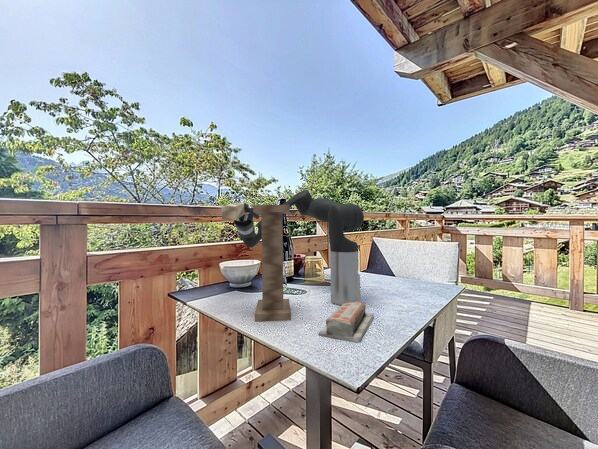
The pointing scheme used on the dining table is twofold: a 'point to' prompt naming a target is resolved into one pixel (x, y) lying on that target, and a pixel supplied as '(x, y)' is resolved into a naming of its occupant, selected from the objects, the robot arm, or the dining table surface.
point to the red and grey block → (348, 322)
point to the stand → (272, 265)
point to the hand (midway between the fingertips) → (238, 205)
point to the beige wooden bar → (233, 211)
